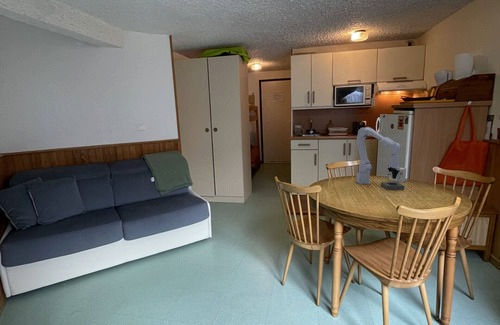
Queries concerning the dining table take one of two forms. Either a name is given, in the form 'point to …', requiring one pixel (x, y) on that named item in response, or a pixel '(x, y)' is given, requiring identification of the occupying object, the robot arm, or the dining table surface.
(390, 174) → the plug
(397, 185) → the socket
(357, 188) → the dining table surface
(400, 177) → the light bulb box
